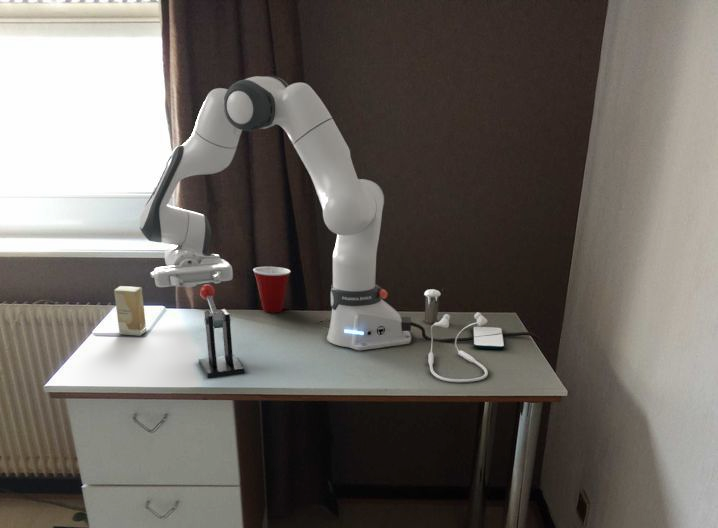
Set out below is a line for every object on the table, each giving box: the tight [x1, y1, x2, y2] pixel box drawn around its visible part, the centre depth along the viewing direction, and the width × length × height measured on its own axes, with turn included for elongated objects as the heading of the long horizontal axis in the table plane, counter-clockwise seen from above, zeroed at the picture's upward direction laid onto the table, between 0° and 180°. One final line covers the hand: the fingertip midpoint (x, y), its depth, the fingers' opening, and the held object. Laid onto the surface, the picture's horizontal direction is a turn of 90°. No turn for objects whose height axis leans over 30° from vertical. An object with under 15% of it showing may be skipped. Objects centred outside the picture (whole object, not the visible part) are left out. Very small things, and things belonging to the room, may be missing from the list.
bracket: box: [198, 308, 246, 379], centre depth 180 cm, size 10×9×14 cm
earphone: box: [427, 311, 489, 384], centre depth 182 cm, size 14×17×18 cm
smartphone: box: [472, 326, 505, 350], centre depth 202 cm, size 8×1×16 cm
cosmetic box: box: [113, 285, 147, 337], centre depth 203 cm, size 6×4×12 cm
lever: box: [199, 283, 224, 329], centre depth 180 cm, size 13×4×4 cm, turn 21°
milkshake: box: [423, 287, 445, 325], centre depth 212 cm, size 4×5×10 cm
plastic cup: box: [252, 266, 291, 313], centre depth 221 cm, size 11×11×12 cm
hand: (199, 281), depth 191 cm, fingers open, 8 cm apart
